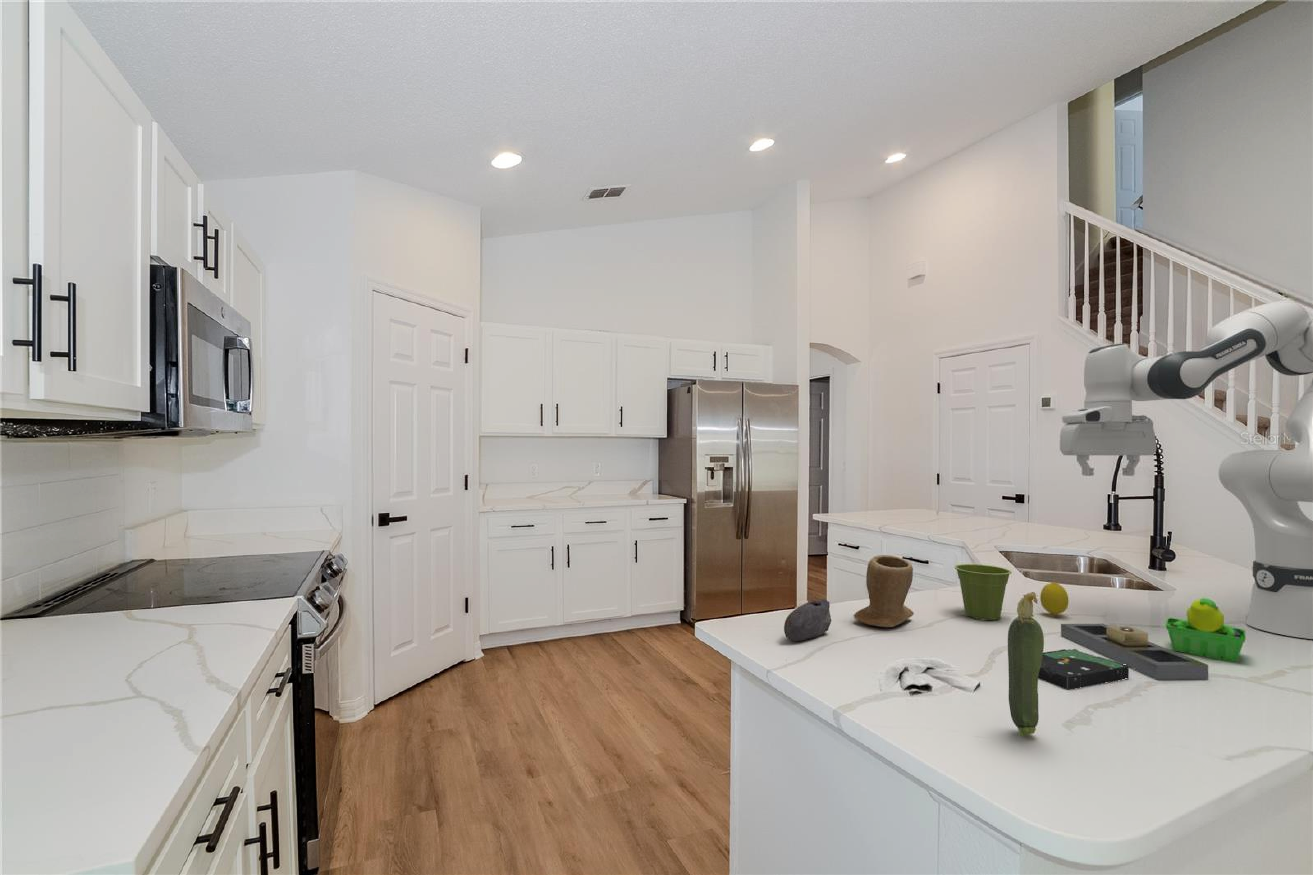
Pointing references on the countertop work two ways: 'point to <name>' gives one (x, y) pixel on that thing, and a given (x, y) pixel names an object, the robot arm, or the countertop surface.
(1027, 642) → the vegetable
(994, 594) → the plant pot
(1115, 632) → the nut
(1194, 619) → the fruit basket
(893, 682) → the cloth
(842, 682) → the countertop surface
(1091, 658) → the disk drive
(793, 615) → the perforated stone tool
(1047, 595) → the lemon
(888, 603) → the stone cup
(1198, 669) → the rail
